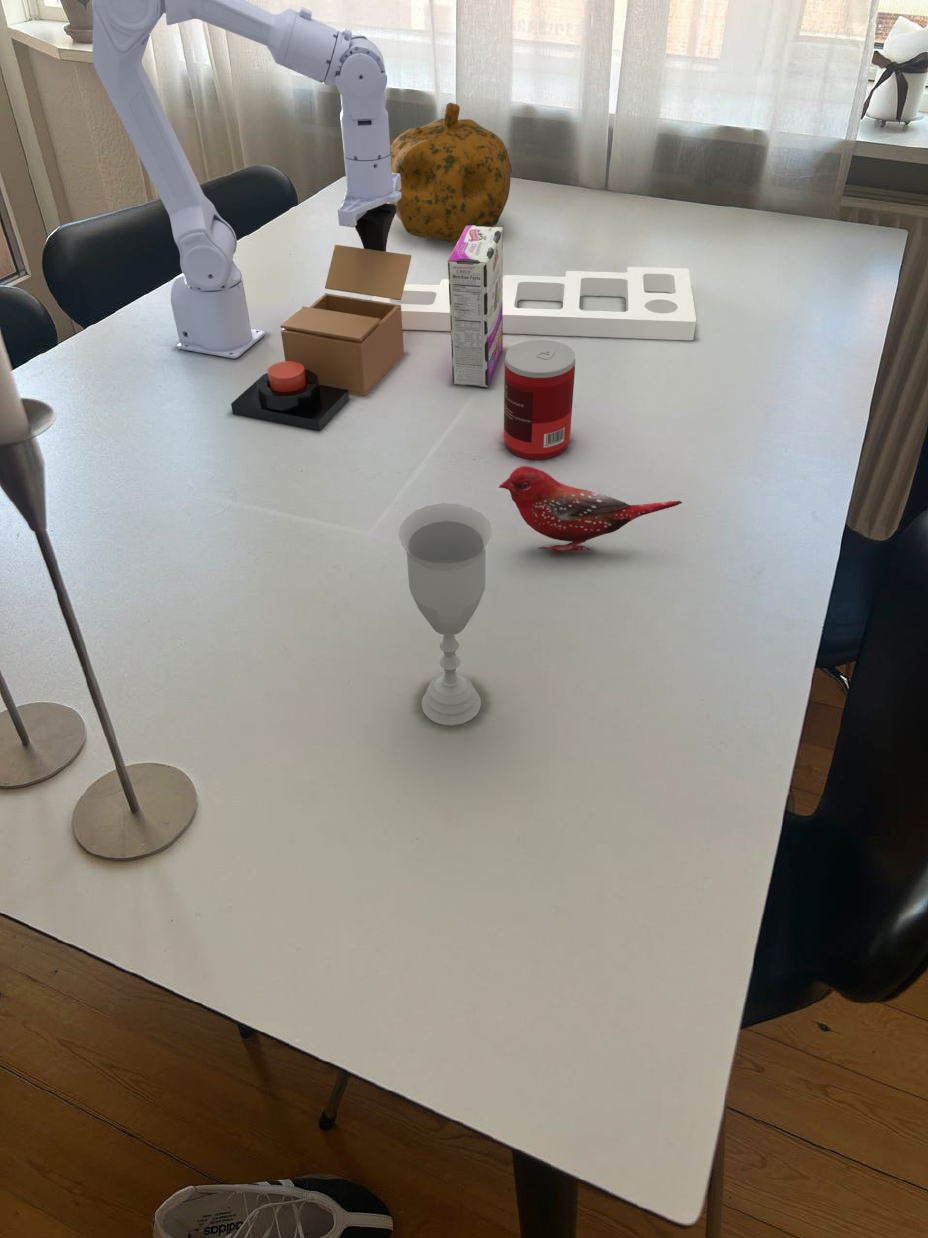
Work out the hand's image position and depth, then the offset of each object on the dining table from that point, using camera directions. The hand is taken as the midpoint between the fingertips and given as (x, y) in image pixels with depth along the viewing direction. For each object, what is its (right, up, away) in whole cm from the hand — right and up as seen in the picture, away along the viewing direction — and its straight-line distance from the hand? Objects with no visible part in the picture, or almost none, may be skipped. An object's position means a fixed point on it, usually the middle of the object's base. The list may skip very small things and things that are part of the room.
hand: (376, 263), depth 127 cm
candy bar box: (+13, -14, -1) cm, 20 cm away
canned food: (+20, -27, -15) cm, 37 cm away
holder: (+22, -2, +13) cm, 25 cm away
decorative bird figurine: (+24, -40, -30) cm, 56 cm away
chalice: (+11, -54, -45) cm, 72 cm away
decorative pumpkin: (+9, +18, +36) cm, 41 cm away
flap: (-1, -2, -2) cm, 3 cm away
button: (-10, -18, -10) cm, 23 cm away
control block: (-10, -21, -8) cm, 24 cm away
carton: (-4, -14, -1) cm, 15 cm away
